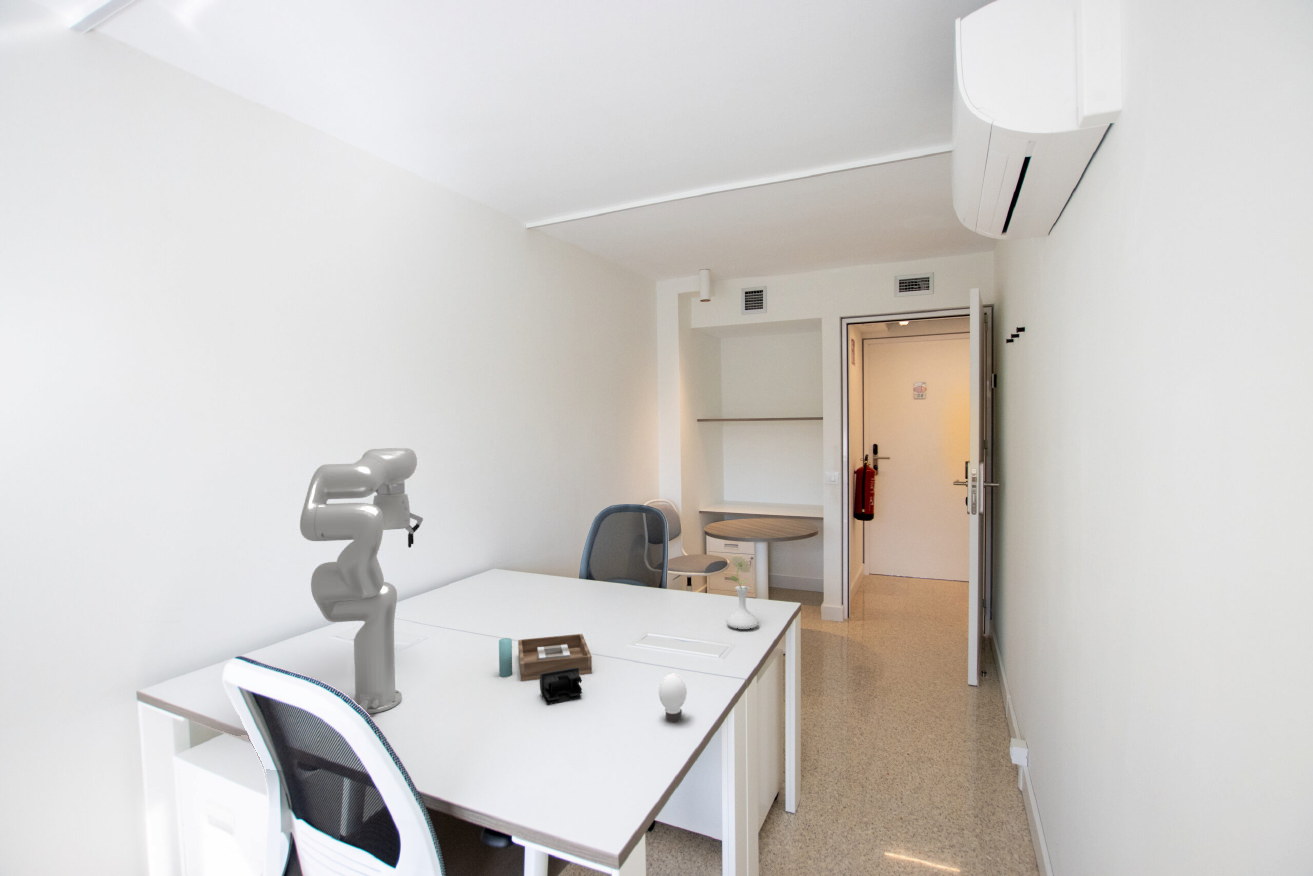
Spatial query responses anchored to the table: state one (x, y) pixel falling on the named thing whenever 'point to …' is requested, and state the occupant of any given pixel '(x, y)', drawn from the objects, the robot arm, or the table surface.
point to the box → (553, 655)
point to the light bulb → (672, 696)
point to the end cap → (560, 686)
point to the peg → (505, 657)
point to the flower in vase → (741, 599)
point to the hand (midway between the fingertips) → (392, 548)
